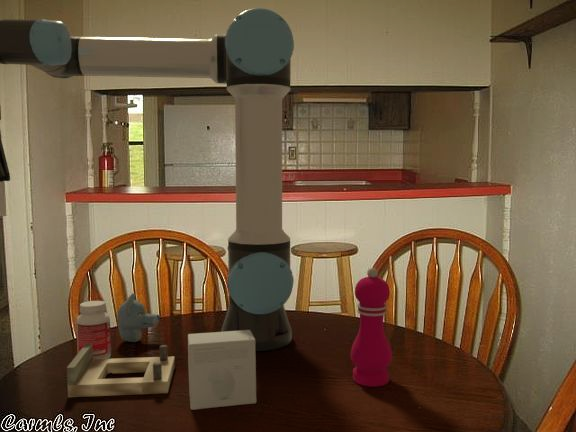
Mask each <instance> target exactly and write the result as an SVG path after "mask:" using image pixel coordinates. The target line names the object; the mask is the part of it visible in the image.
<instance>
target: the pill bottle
mask: <svg viewBox="0 0 576 432" xmlns="http://www.w3.org/2000/svg"><path fill="white" fill-rule="evenodd" d="M79 312H80V314H79V315H78V316H76V317H77V318H76V320H75V321H76V324H75V325H76V347H77V350H76V351H77V354H78V353H79V352H80V350H81V349H82V348H83V347H84V345H85V344H93V359H111V355H112V345H111V343H112V341H111V318H110V314H108V313H107V312H106V302H105V301H103V300H91V301H90V300H88V301H84V302H82V303H80V304H79Z"/></svg>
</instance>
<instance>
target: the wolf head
mask: <svg viewBox="0 0 576 432" xmlns="http://www.w3.org/2000/svg"><path fill="white" fill-rule="evenodd" d="M116 315H117V316H116V319H117V329H118V333H119V335H120V338H121V340H123V341H125V342H130V343H137V342H139V341H140V340H141V338H142V333H143V332H142V329H149V328H154V327H156V326H157V325H158V324H159V322H160V319H161V316H160V314H156V313H147V312H146V308H145V306H144V304H143V303H142V302H140V301H137V299H136V294H135V292H133V293H131V294H130V295H129V297H127V299H126V300H125V301H123V302H122V304H121V305H120V306H119V308H118V311H117V314H116Z"/></svg>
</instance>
